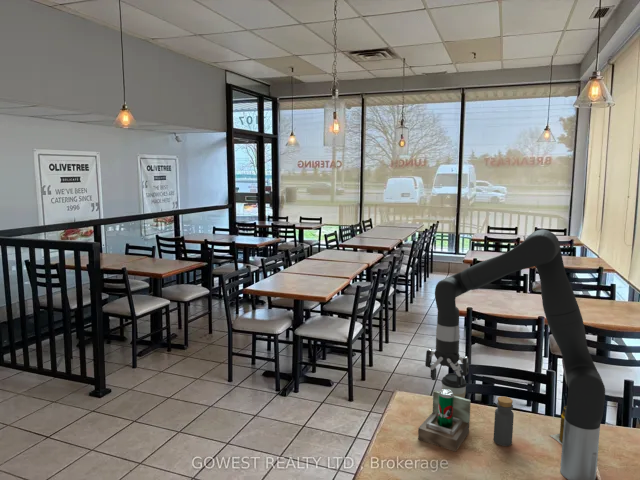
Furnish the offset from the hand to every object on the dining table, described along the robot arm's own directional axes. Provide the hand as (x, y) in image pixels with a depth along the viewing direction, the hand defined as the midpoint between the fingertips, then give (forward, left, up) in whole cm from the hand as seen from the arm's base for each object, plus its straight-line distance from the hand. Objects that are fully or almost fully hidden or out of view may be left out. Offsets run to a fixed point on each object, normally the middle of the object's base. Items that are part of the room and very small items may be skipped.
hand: (446, 382), depth 160 cm
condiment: (-35, -21, -20) cm, 46 cm away
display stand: (0, 0, -19) cm, 19 cm away
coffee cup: (+3, -16, -20) cm, 25 cm away
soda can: (0, 0, -16) cm, 16 cm away
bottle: (-17, -8, -20) cm, 27 cm away
